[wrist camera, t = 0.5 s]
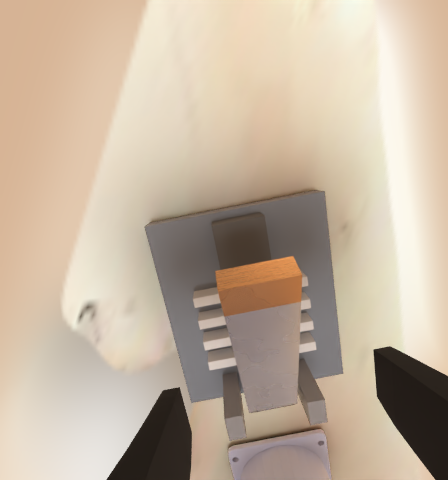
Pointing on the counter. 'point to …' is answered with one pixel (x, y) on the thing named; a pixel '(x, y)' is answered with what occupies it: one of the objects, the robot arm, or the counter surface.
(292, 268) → the orange-ended grey bar
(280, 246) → the heatsink base
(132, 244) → the counter surface
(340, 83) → the counter surface
